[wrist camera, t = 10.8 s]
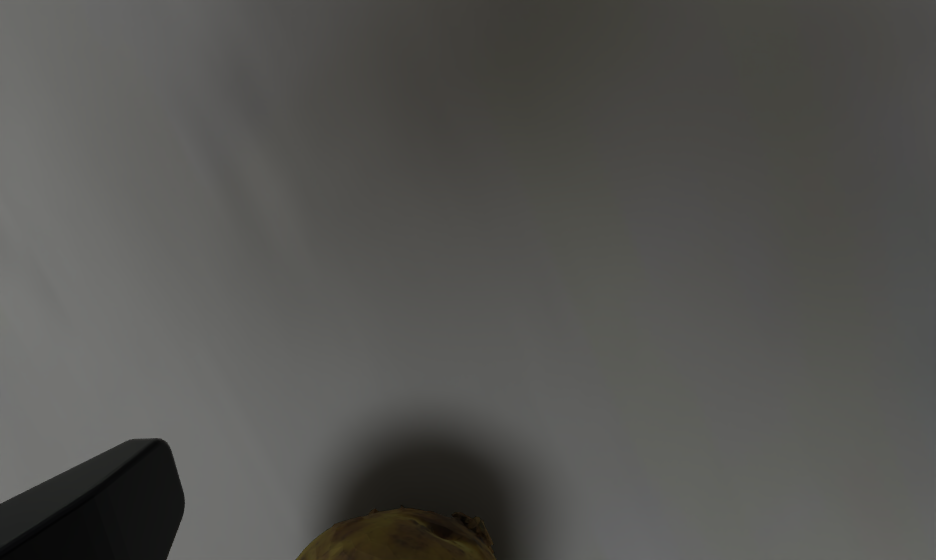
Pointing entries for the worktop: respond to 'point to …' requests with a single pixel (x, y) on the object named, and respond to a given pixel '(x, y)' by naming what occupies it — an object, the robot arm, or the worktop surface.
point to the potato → (403, 538)
